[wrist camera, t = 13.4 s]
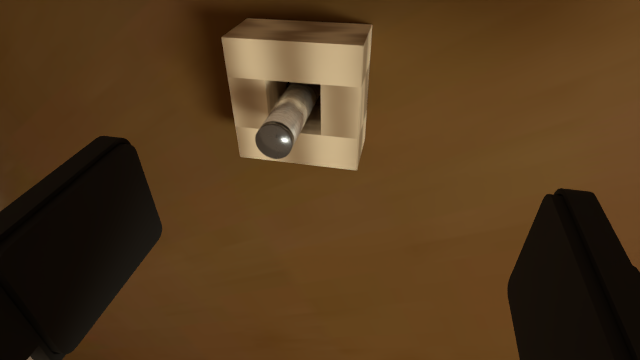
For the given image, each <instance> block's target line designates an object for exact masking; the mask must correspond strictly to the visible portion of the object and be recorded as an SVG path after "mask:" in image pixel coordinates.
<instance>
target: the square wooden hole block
mask: <svg viewBox="0 0 640 360" xmlns="http://www.w3.org/2000/svg"><path fill="white" fill-rule="evenodd" d="M371 36H372V24H353V23H333V22H313V21H293V20H272V19H252V18H247V19H245V20H244V21H243V22H241V23H240V24H239V25H237V26H236V27H235V28H233V29H232V30H230V31H229V32H228V33H226V34H225V35H224V36H222V37H221V38H222V45H223V51H224V57H225V64H226V70H227V76H228V83H229V89H230V95H231V102H232V108H233V114H234V120H235V127H236V133H237V139H238V146H239V152H240V157H247V158H256V159H264V160H273V161H281V162H290V163H298V164H307V165H315V166H324V167H332V168H341V169H349V170H357V168H358V164H359V160H360V156H361V152H362V148H363V144H364V140H365V128H366V113H367V98H368V82H369V67H370V51H371ZM286 82H296V83H308V84H321V106H319V105H314V107H313V109H312V111H311V113H310V115H309V116H308V118H307V120H306V122H305V124H304V126H303V128H302V130H301V132H300V134H299V136H298V138H297V140H296V142H295V144H294V146H293V147H292V149H291V151H290V153H289V154H288V155H287V156H286V157H284V158H281V159H273V158H270V157H267V156H265V155H264V154H263V153H262V152H261V151H260V150H259V149H258V147H257V145H256V142H255V136H256V133H257V132H258V130H259V129H260V127H261V126H262V124H263V123H264V121H265V120H266V119H267V117H268V116H269V114H270V113H271V111H272V110H273V108H274V107H275V105H276V104H277V103H278V101H279V100H280V98H281V97H282V95H283V94H284V92H285V91H286V89H287V86H286Z"/></svg>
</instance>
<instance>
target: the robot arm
mask: <svg viewBox="0 0 640 360" xmlns="http://www.w3.org/2000/svg"><path fill="white" fill-rule="evenodd" d="M161 233H162V224H161V221H160V218H159V216H158V213H157V210H156V207H155V204H154V201H153V198H152V195H151V192H150V189H149V186H148V183H147V180H146V178H145V175H144V172H143V169H142V166H141V163H140V160H139V157H138V154H137V151H136V149H135V148H134V147H133V146H132V145H131V144H130V142H129V141H128V140H127V139H124V138H117V137H109V136H100V137H98V138H96V139H95V140H93V141H92V142H91V143H90V144H88V145H87V146H86V147H84V148H83V149H82V150H80V151H79V152H78V153H76V154H75V155H74V156H73V157H71V158H70V159H69V160H67V161H66V162H65V163H63V164H62V165H61V166H59V167H58V168H57V169H56V170H54V171H53V172H52V173H50V174H49V175H48V176H46V177H45V178H44V179H42V180H41V181H40V182H39V183H37V184H36V185H35V186H33V187H32V188H31V189H29V190H28V191H27V192H25V193H24V194H23V195H21V196H20V197H19V198H18V199H16V200H15V201H14V202H12V203H11V204H10V205H8V206H7V207H6V208H4V209H3V210H2V211H1V212H0V360H27V359H28V358H29V356H31V358H32V359H33V360H62V359H63V358H64V356H65V355H66V354H68V353H70V352H72V351H73V350H74V349H75V348H76V347H77V346H78V345H79V343H80V342H81V341H82V339H83V338H84V337H85V335H86V334H87V333H88V331H89V330H90V329H91V327H92V326H93V325H94V324H95V322H96V321H97V320H98V318H99V317H100V316H101V314H102V313H103V312H104V310H105V309H106V308H107V306H108V305H109V304H110V303H111V301H112V300H113V299H114V297H115V296H116V295H117V293H118V292H119V291H120V289H121V288H122V287H123V285H124V284H125V283H126V282H127V280H128V279H129V278H130V276H131V275H132V274H133V272H134V271H135V270H136V268H137V267H138V266H139V265H140V263H141V262H142V261H143V259H144V258H145V257H146V255H147V254H148V253H149V251H150V250H151V249H152V247H153V246H154V245H155V244H156V242H157V241H158V240H159V238H160V236H161ZM508 299H509V305H510V310H511V315H512V321H513V326H514V331H515V336H516V342H517V347H518V352H519V358H520V360H640V272H639V271H638V269H637V268H636V267H634V266H633V265H632V264H631V262H630V260H629V258H628V256H627V254H626V252H625V251H624V249H623V247H622V245H621V243H620V241H619V239H618V237H617V235H616V234H615V232H614V230H613V228H612V226H611V224H610V222H609V220H608V218H607V217H606V215H605V213H604V211H603V209H602V207H601V205H600V203H599V202H598V200H597V198H596V196H595V195H594V193H592V192H588V191H579V190H571V189H562V188H560V189H558V190H557V191H556V192H555V193H554V195H552V194H547V195H546V196H545V197H544V199H543V201H542V203H541V205H540V208H539V210H538V212H537V215H536V217H535V220H534V222H533V224H532V227H531V229H530V231H529V234H528V236H527V238H526V241H525V243H524V246H523V248H522V250H521V253H520V255H519V257H518V260H517V262H516V265H515V267H514V269H513V272H512V274H511V276H510V279H509V282H508Z"/></svg>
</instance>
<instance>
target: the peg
mask: <svg viewBox="0 0 640 360" xmlns="http://www.w3.org/2000/svg"><path fill="white" fill-rule="evenodd" d="M320 93H321V84H308V83H296V82H291V84H290V85H289V87H288V88H287V89H286V91H285V92H284V94H283V95H282V97H281V98H280V100H279V101H278V103H277V104H276V105H275V107H274V108H273V110H272V111H271V113H270V114H269V116H268V117H267V119H266V120H265V121H264V123H263V124H262V126H261V127H260V129H259V130H258V132H257V133H256V136H255V142H256V145H257V147H258V149H259V150H260V151H261V152H262V153H263V154H264V155H265V156H267V157H270V158H273V159H281V158H284V157H286V156H287V155H288V154H289V153H290V151H291V149H292V147H293V146H294V144H295V142H296V140H297V138H298V136H299V134H300V132H301V130H302V128H303V126H304V124H305V122H306V120H307V118H308V116H309V115H310V113H311V111H312V109H313V107H314V105H315V103H316V101H317V99H318V97H319V95H320Z"/></svg>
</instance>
